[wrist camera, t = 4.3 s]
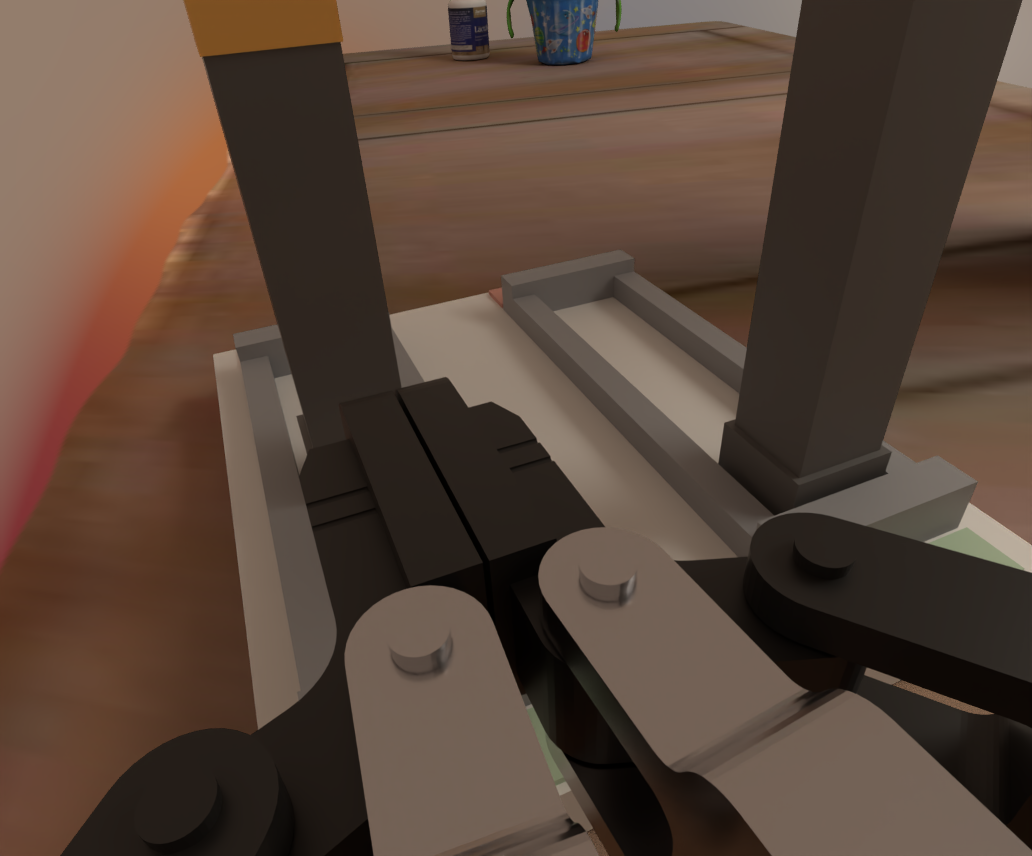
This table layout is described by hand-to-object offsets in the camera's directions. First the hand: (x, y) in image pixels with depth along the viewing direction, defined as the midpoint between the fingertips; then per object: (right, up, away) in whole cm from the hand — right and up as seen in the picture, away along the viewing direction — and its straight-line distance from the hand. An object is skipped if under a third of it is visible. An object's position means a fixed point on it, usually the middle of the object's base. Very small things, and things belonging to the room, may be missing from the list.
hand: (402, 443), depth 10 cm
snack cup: (+8, +52, +89) cm, 103 cm away
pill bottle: (-5, +56, +96) cm, 112 cm away
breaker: (-3, -1, +11) cm, 12 cm away
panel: (+2, -2, +14) cm, 15 cm away
